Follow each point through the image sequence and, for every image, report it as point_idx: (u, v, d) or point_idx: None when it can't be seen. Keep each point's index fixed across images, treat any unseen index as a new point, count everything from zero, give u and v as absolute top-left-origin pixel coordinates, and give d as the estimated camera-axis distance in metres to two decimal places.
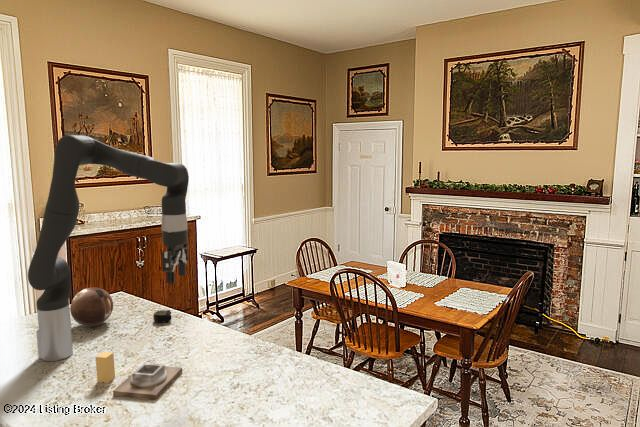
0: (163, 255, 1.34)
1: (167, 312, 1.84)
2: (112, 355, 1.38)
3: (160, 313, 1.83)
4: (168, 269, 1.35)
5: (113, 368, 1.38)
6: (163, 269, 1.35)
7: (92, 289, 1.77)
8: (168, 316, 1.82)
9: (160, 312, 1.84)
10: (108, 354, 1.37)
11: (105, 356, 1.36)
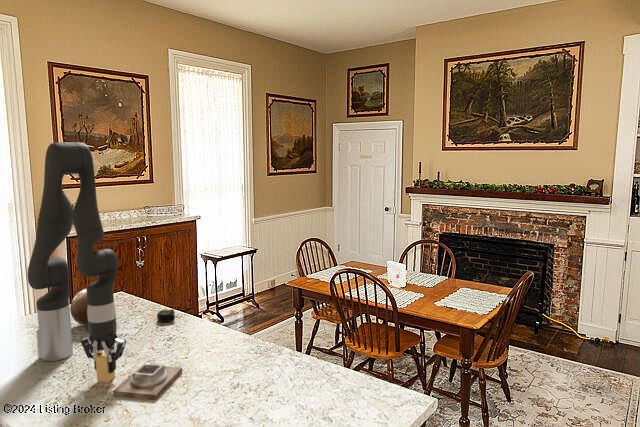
0: (122, 346, 1.35)
1: (171, 311, 1.85)
2: None
3: (164, 313, 1.83)
4: (120, 355, 1.37)
5: None
6: (117, 357, 1.35)
7: None
8: (172, 315, 1.82)
9: (164, 311, 1.85)
10: None
11: (105, 356, 1.36)
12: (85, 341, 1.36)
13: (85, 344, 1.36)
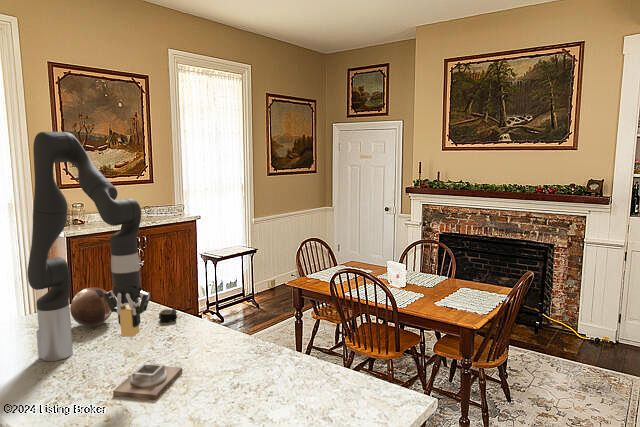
0: (146, 298, 1.31)
1: (172, 311, 1.85)
2: None
3: (166, 312, 1.84)
4: (145, 308, 1.33)
5: None
6: (142, 310, 1.31)
7: (92, 289, 1.77)
8: (174, 315, 1.83)
9: (166, 311, 1.85)
10: None
11: (129, 309, 1.32)
12: (109, 294, 1.32)
13: (109, 297, 1.32)
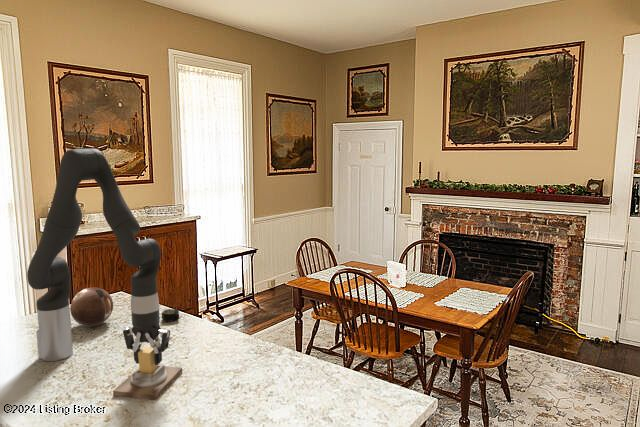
0: (166, 336, 1.32)
1: (175, 311, 1.85)
2: None
3: (168, 312, 1.84)
4: (167, 346, 1.34)
5: None
6: (164, 349, 1.32)
7: (92, 289, 1.77)
8: (176, 315, 1.83)
9: (168, 311, 1.85)
10: (150, 350, 1.34)
11: (148, 352, 1.33)
12: (127, 331, 1.33)
13: (127, 335, 1.33)
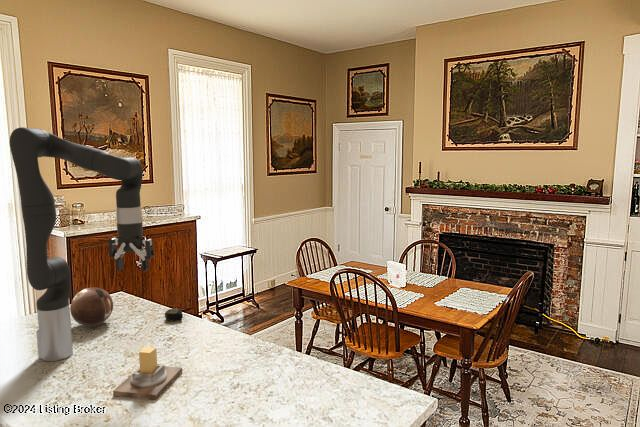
0: (149, 243, 1.44)
1: (178, 310, 1.86)
2: (155, 350, 1.35)
3: (172, 311, 1.85)
4: (153, 255, 1.46)
5: (156, 363, 1.36)
6: (150, 256, 1.44)
7: (92, 289, 1.77)
8: (179, 314, 1.83)
9: (171, 310, 1.86)
10: (151, 349, 1.34)
11: (148, 351, 1.33)
12: (113, 241, 1.46)
13: (112, 244, 1.45)
